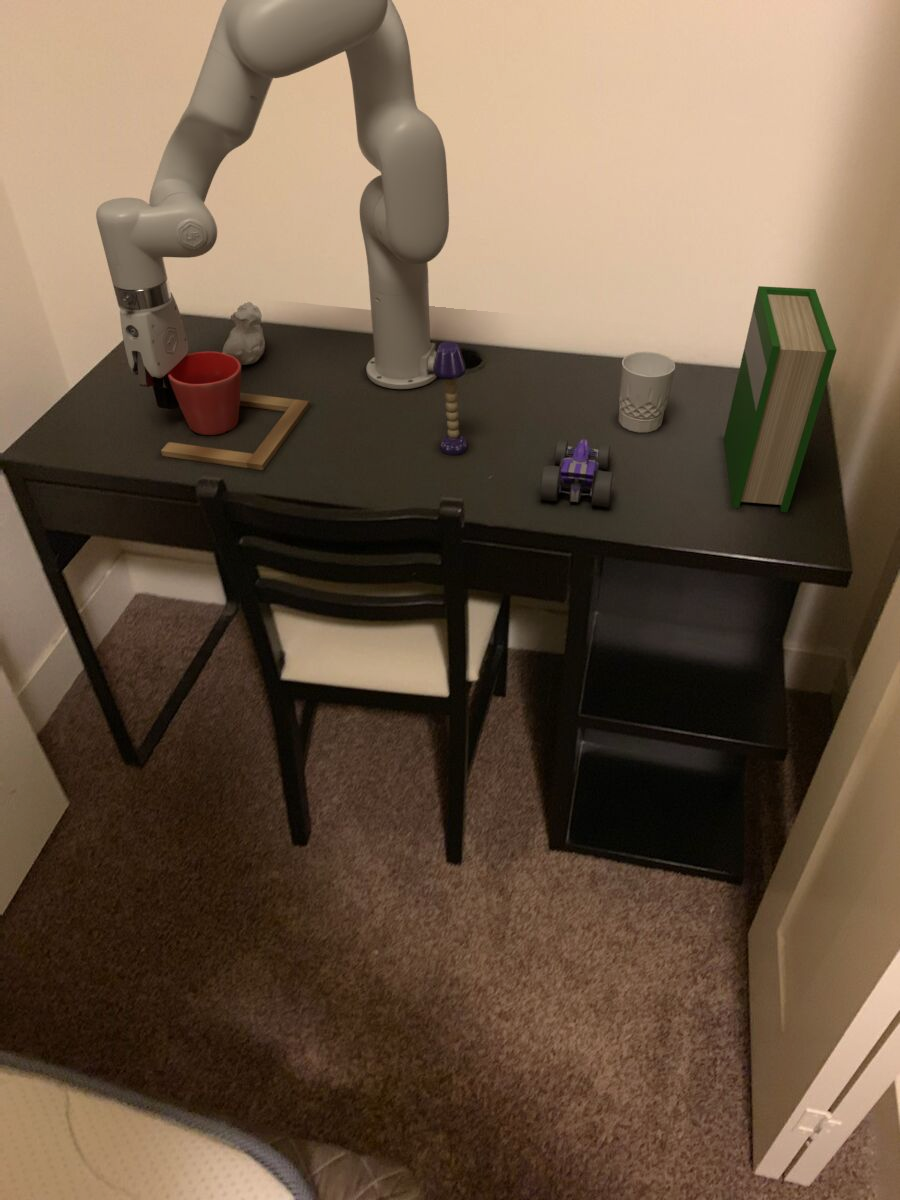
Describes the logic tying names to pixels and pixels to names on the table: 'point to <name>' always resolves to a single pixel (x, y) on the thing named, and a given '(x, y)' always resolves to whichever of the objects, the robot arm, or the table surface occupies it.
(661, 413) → the white cup
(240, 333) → the bust
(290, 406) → the frame
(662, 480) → the table surface
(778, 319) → the hardback book
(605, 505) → the toy race car
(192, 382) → the flower pot
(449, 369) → the toy lamp
